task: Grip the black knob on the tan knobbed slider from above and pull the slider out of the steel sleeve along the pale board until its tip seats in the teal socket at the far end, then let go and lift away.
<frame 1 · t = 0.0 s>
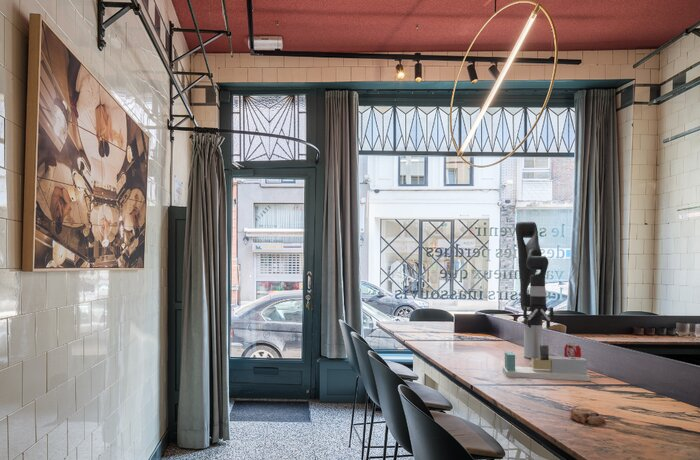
hand: (538, 327, 236), 17 cm above the bar counter, tool pointing down, fingers open, 8 cm apart
board: (548, 375, 207), on the bar counter
soda can: (572, 370, 218), on the bar counter
socket: (509, 361, 210), on the board, point 6 cm above the bar counter
tan knobbed slider: (556, 357, 207), point 8 cm above the bar counter, slide at 0.0 cm
steel sleeve: (567, 365, 206), on the board, point 5 cm above the bar counter
cookie: (586, 420, 148), on the bar counter
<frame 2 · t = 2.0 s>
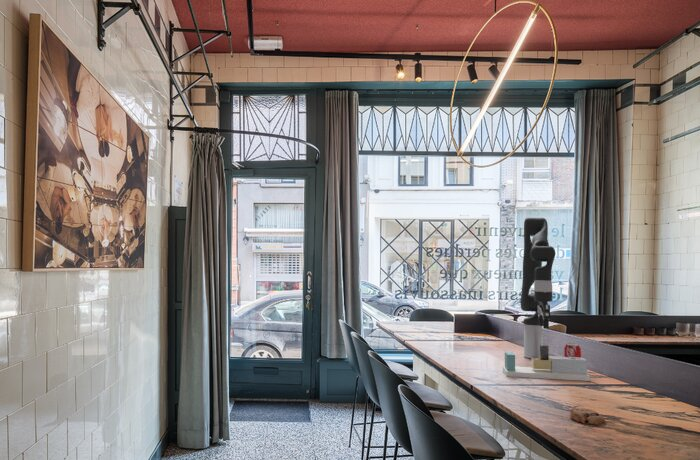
hand: (543, 327, 209), 21 cm above the bar counter, tool pointing down, fingers open, 8 cm apart
nothing on the bar counter moved.
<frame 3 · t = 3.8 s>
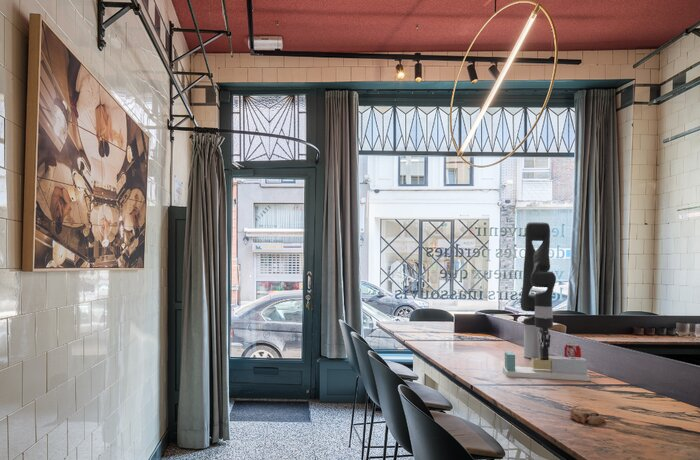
hand: (544, 355, 208), 9 cm above the bar counter, tool pointing down, fingers closed on tan knobbed slider, 3 cm apart
tan knobbed slider: (556, 357, 207), point 8 cm above the bar counter, slide at 0.0 cm, touching gripper
everything else where it was.
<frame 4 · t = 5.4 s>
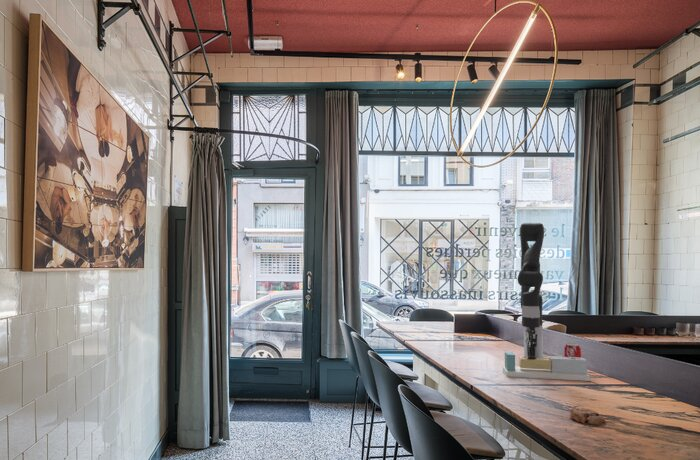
hand: (531, 354, 209), 9 cm above the bar counter, tool pointing down, fingers closed on tan knobbed slider, 3 cm apart
tan knobbed slider: (543, 357, 208), point 8 cm above the bar counter, slide at 5.4 cm, touching gripper
everything else where it was.
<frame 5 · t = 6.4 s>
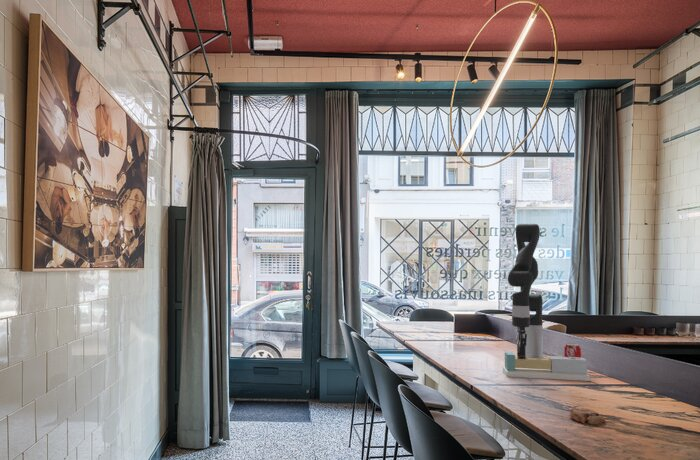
hand: (521, 354, 210), 9 cm above the bar counter, tool pointing down, fingers closed on tan knobbed slider, 3 cm apart
tan knobbed slider: (533, 356, 209), point 8 cm above the bar counter, slide at 9.7 cm, touching gripper
everything else where it was.
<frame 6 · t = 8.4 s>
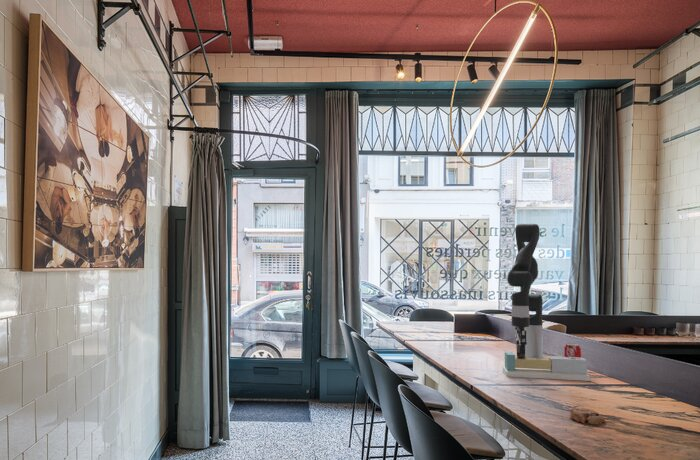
hand: (520, 352, 210), 10 cm above the bar counter, tool pointing down, fingers open, 8 cm apart
tan knobbed slider: (533, 356, 209), point 8 cm above the bar counter, slide at 9.9 cm
everything else where it was.
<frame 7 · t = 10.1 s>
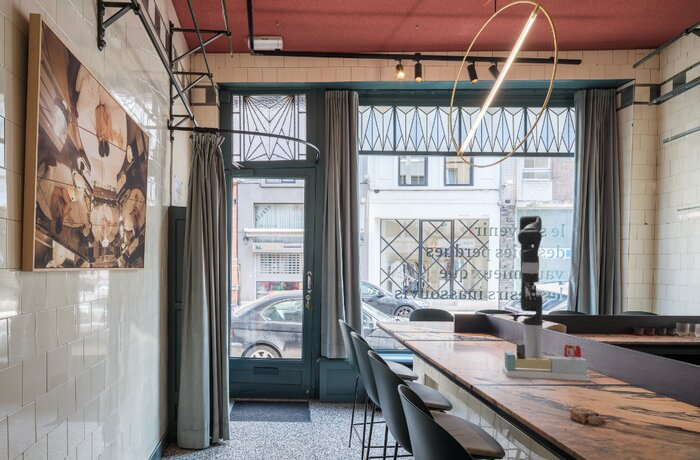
hand: (530, 306, 223), 29 cm above the bar counter, tool pointing down, fingers open, 8 cm apart
nothing on the bar counter moved.
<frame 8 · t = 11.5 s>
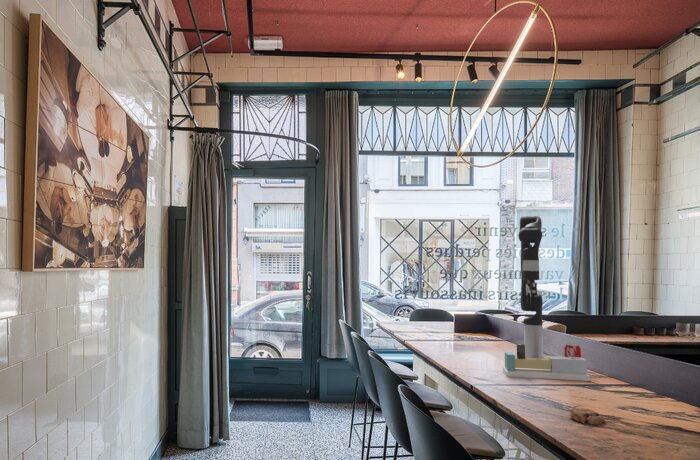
hand: (531, 304, 224), 30 cm above the bar counter, tool pointing down, fingers open, 8 cm apart
nothing on the bar counter moved.
at the end: tan knobbed slider slide at 9.9 cm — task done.
